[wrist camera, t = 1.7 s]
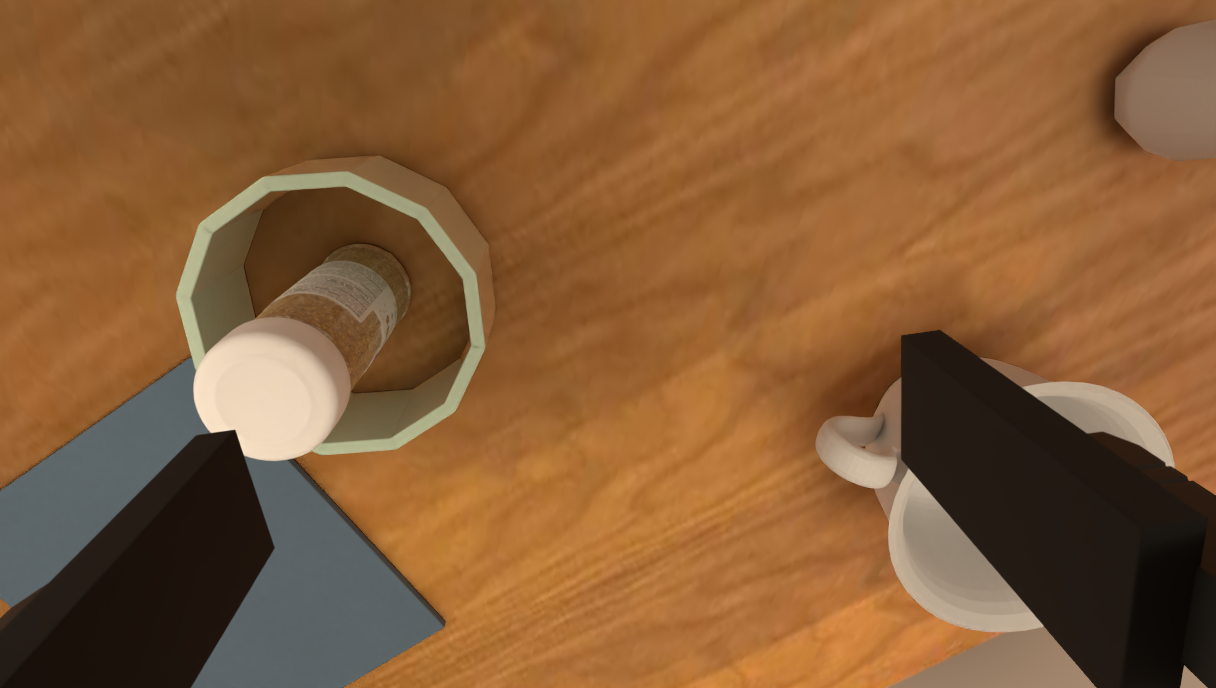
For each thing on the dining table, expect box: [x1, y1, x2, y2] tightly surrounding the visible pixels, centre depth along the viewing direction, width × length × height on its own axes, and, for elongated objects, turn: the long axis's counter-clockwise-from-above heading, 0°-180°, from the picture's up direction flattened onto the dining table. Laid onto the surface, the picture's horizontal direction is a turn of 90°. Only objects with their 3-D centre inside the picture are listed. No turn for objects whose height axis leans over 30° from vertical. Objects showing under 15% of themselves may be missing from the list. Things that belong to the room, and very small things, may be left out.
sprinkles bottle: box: [193, 243, 411, 461], centre depth 31 cm, size 5×5×13 cm
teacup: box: [816, 357, 1175, 632], centre depth 36 cm, size 12×15×10 cm
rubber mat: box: [0, 356, 445, 688], centre depth 42 cm, size 20×18×1 cm
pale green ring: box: [176, 155, 496, 455], centre depth 34 cm, size 12×12×6 cm
